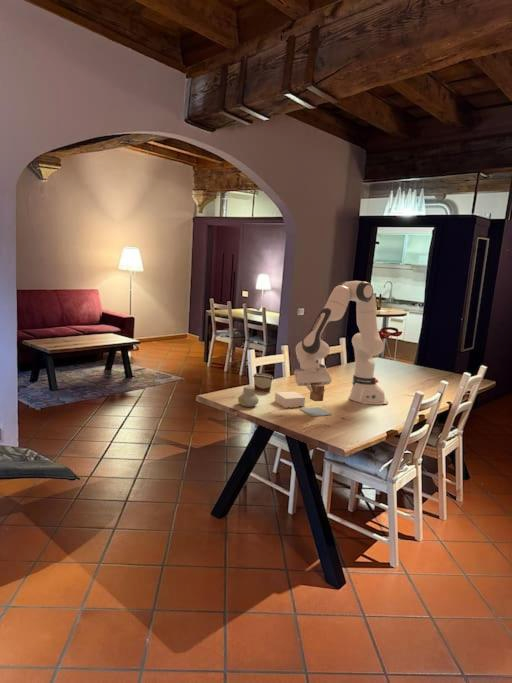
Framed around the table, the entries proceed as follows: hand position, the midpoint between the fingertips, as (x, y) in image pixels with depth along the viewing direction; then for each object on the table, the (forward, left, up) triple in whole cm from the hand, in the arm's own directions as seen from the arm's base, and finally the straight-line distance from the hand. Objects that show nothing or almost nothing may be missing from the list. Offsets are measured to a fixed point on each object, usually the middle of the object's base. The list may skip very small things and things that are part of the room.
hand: (317, 391), depth 242 cm
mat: (0, -1, -11) cm, 11 cm away
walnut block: (0, 0, -5) cm, 5 cm away
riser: (+14, -12, -11) cm, 22 cm away
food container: (+30, -34, -12) cm, 47 cm away
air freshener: (+36, -2, -12) cm, 38 cm away
